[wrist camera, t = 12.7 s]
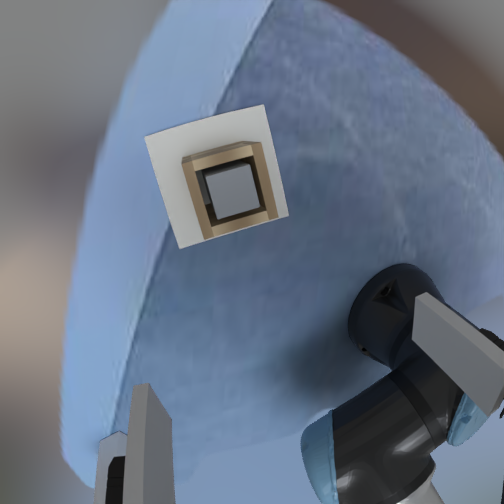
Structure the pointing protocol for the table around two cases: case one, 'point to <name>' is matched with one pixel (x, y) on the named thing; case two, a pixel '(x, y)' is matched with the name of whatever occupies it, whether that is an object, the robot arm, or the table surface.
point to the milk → (107, 462)
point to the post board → (201, 142)
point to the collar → (256, 160)
